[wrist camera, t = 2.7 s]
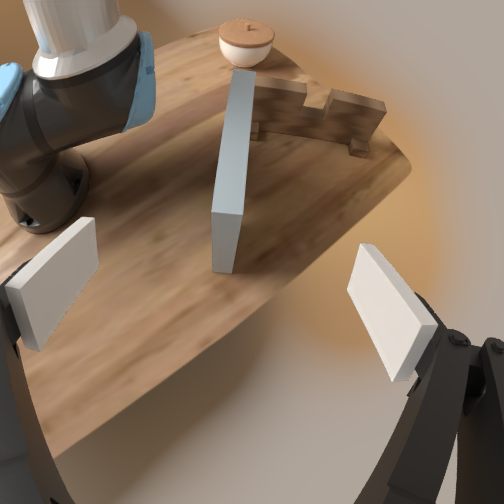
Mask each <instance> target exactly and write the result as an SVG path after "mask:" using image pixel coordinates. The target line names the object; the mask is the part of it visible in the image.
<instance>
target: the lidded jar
mask: <svg viewBox="0 0 504 504" xmlns="http://www.w3.org/2000/svg"><path fill="white" fill-rule="evenodd" d="M274 36H275V33H274V31H273V29H272V28H271V27H270V26H268V25H267V24H265V23H262V22H259V21H256V20H251V19H237V20H231V21H228V22H226V23H224V24H223V25H221V27H220V28H219V44H220V49H221V52H222V54H223V56H224V57H225V58H226V59H227V60H228V61H230V63H231V64H233V65H235V66H237V67H243V68H247V67H252V66H255V65H256V64H258V63H259V62H261V61H262V60H264V59H265V58H266V56H267V55H268V53H269V52H270V49H271V47H272V43H273V39H274Z"/></svg>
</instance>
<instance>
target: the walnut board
mask: <svg viewBox="0 0 504 504" xmlns="http://www.w3.org/2000/svg"><path fill="white" fill-rule="evenodd" d="M306 96H307V84H306V83H301V82H295V81H289V80H283V79H276V78H269V77H261V76H255V86H254V97H253V107H252V118H251V129H250V140H257V137H258V132H259V130H261V131H269V132H276V133H283V134H290V135H297V136H303V137H309V138H315V139H320V140H326V141H331V142H337V143H342V144H347V145H348V148H349V155H352V156H357V157H362V158H366V156H367V155H368V153H369V152H370V151H369V146H368V140H369V139H370V137H371V136H372V134H373V133H374V131H375V130H376V128H377V127H378V125H379V123H380V122H381V120H382V119H383V117H384V115H385V114H386V113H387V111H386V108H385V104H384V102H382V101H379V100H375V99H372V98H368V97H364V96H361V95H357V94H353V93H348V92H344V91H340V90H335V89H331V92H330V94H329V96H328V99H327V101H326V104H325V106H324V108H323V110H322V109H317V108H311V107H306V106H303V104H304V101H305V99H306Z"/></svg>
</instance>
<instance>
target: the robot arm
mask: <svg viewBox="0 0 504 504" xmlns="http://www.w3.org/2000/svg"><path fill="white" fill-rule="evenodd" d="M23 2H24V5H25V8H26V11H27V14H28V17H29V20H30V23H31V25H32V28H33V31H34V33H35V36H36V39H37V41H38V43H39V46H40V48H39V50H38V52H37V54H36V56H35V58H34V60H33V65H32V66H33V69H31V70H29V71H26V72H23V68H22V67H21V66H19V65H18V64H17V63H7V64H4V65H2V66H0V193H1V194H2V195H3V198H4V200H5V202H6V205H7V207H8V210H9V212H10V214H11V216H12V218H13V219H14V221H15V222H16V223H17V224H18V225H20V226H21V227H22V228H23V229H25V230H26V231H28V232H31V233H36V234H41V233H47V232H50V231H53V230H55V229H57V228H59V227H61V226H62V225H63V224H65V223H66V222H67V221H68V220H69V219H71V218H72V216H73V215H74V214H75V213H76V212H77V210H78V209H79V208H80V206H81V204H82V203H83V201H84V199H85V197H86V194H87V191H88V187H89V171H88V167H87V165H86V163H85V162H84V160H83V158H82V156H81V155H80V154H79V153H78V152H77V151H76V150H75V149H73V148H72V147H75V146H78V145H81V144H85V143H88V142H91V141H94V140H97V139H100V138H104V137H107V136H111V135H114V134H118V133H123V132H125V131H126V130H128V129H131V128H134V127H137V126H140V125H143V124H145V123H147V122H148V121H149V120H150V119H151V118H152V116H153V114H154V111H155V103H156V80H155V71H154V68H155V67H154V50H153V42H152V38H151V35H150V34H149V33H148V32H140V31H138V32H137V27H136V23H135V22H134V21H133V20H132V19H131V18H129V17H127V16H124V15H122V14H119V8H118V2H117V0H23ZM98 268H99V262H98V253H97V242H96V230H95V218H90V217H81V218H80V219H78V220H77V221H76V222H75V223H73V224H72V225H71V226H70V227H69V228H67V229H66V230H65V231H64V232H63V233H61V234H60V235H59V236H58V237H57V238H56V239H54V240H53V241H52V242H51V243H50V244H49V245H47V246H46V247H45V248H44V249H43V250H42V251H41V252H40V253H38V254H37V255H36V256H35V257H34V258H32V259H30V260H28V261H27V262H25V263H23V264H22V265H21V266H20V267H19V268H18V269H17V271H14V272H13V273H12V274H11V276H9V277H8V278H7V279H6V280H5V281H4V282H3V283H2V284H1V285H0V504H75V503H74V501H73V500H72V498H71V496H70V495H69V493H68V491H67V489H66V487H65V485H64V483H63V481H62V479H61V476H60V474H59V472H58V470H57V467H56V465H55V463H54V461H53V458H52V456H51V453H50V451H49V448H48V446H47V443H46V441H45V438H44V435H43V433H42V430H41V427H40V424H39V421H38V418H37V415H36V412H35V409H34V406H33V403H32V399H31V396H30V392H29V389H28V385H27V381H26V377H25V373H24V369H23V365H22V361H21V356H20V352H19V348H18V345H17V343H16V341H17V340H18V339H19V337H20V336H21V338H22V340H23V343H24V345H25V347H26V348H29V349H32V350H36V351H41V350H42V348H43V347H44V345H45V344H46V342H47V340H48V339H49V337H50V336H51V334H52V333H53V331H54V330H55V328H56V327H57V325H58V324H59V322H60V321H61V319H62V318H63V316H64V315H65V314H66V312H67V311H68V309H69V308H70V306H71V305H72V304H73V302H74V301H75V299H76V298H77V297H78V295H79V294H80V292H81V291H82V290H83V288H84V287H85V286H86V284H87V283H88V281H89V280H90V279H91V277H92V276H93V275H94V273H95V272H96V271H97V270H98ZM347 291H348V293H349V295H350V297H351V299H352V301H353V303H354V305H355V307H356V309H357V311H358V312H359V315H360V317H361V319H362V320H363V322H364V325H365V327H366V328H367V330H368V333H369V335H370V337H371V338H372V341H373V343H374V345H375V346H376V349H377V351H378V353H379V355H380V357H381V359H382V362H383V363H384V366H385V368H386V370H387V372H388V374H389V377H390V379H391V381H392V382H399V381H408V380H409V378H410V377H411V375H412V373H413V371H414V370H416V372H417V374H418V376H419V377H418V378H417V380H416V381H415V383H414V385H413V386H412V388H411V389H410V391H409V393H408V394H407V396H408V397H409V398H408V401H407V403H406V405H405V408H404V410H403V412H402V414H401V417H400V419H399V421H398V423H397V425H396V428H395V430H394V432H393V434H392V436H391V438H390V440H389V442H388V444H387V446H386V448H385V450H384V452H383V454H382V456H381V458H380V460H379V461H378V463H377V465H376V467H375V469H374V471H373V472H372V474H371V476H370V478H369V480H368V481H367V483H366V484H365V486H364V488H363V489H362V491H361V493H360V494H359V496H358V498H357V499H356V501H355V502H354V504H436V503H435V502H436V498H437V496H438V493H439V490H440V488H441V485H442V482H443V479H444V476H445V473H446V470H447V466H448V463H449V460H450V456H451V452H452V449H453V446H454V441H455V438H456V434H457V442H458V452H457V482H456V497H455V504H504V342H503V341H501V340H500V339H496V338H491V337H490V338H487V339H486V340H485V342H484V344H483V346H482V347H479V346H474V345H471V342H470V340H469V339H468V338H467V337H466V336H465V335H464V334H463V333H461V332H459V331H457V330H454V329H447V328H446V326H445V325H444V324H443V322H442V321H441V320H440V319H439V317H438V316H437V315H436V313H434V311H433V309H432V308H431V307H430V306H429V304H428V303H427V302H426V301H425V299H424V298H422V297H421V296H420V295H418V294H417V293H415V292H413V291H412V290H411V288H410V287H409V286H408V285H407V283H406V282H405V281H404V280H403V279H402V278H401V276H400V275H399V274H398V272H397V271H396V270H395V269H394V268H393V266H392V265H391V264H390V263H389V262H388V260H387V259H386V258H385V257H384V256H383V255H382V253H381V252H380V251H379V250H378V249H377V248H376V246H375V245H374V244H368V243H360V245H359V249H358V253H357V256H356V260H355V264H354V268H353V271H352V274H351V278H350V281H349V284H348V288H347Z"/></svg>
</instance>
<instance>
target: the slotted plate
mask: <svg viewBox="0 0 504 504" xmlns="http://www.w3.org/2000/svg"><path fill="white" fill-rule="evenodd" d="M255 76H256V72H255V71H246V70H236V69H233V74H232V80H231V85H230V91H229V97H228V103H227V109H226V115H225V121H224V127H223V133H222V140H221V146H220V153H219V159H218V166H217V173H216V180H215V188H214V195H213V202H212V210H211V226H212V265H213V272H217V273H228V274H232V269H233V264H234V259H235V254H236V248H237V243H238V238H239V233H240V228H241V223H242V217H243V209H244V197H245V185H246V174H247V162H248V151H249V140H250V129H251V118H252V107H253V97H254V86H255Z"/></svg>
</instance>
